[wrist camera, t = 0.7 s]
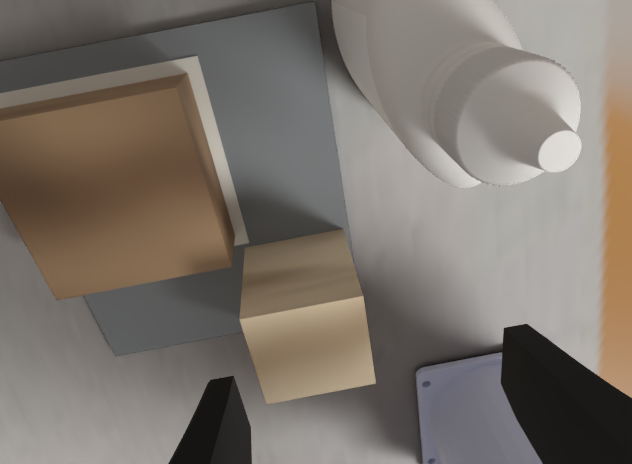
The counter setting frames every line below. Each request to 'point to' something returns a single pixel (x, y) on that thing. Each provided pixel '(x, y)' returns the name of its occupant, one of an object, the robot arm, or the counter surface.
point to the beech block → (305, 317)
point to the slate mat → (216, 151)
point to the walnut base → (114, 187)
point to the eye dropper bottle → (460, 88)
